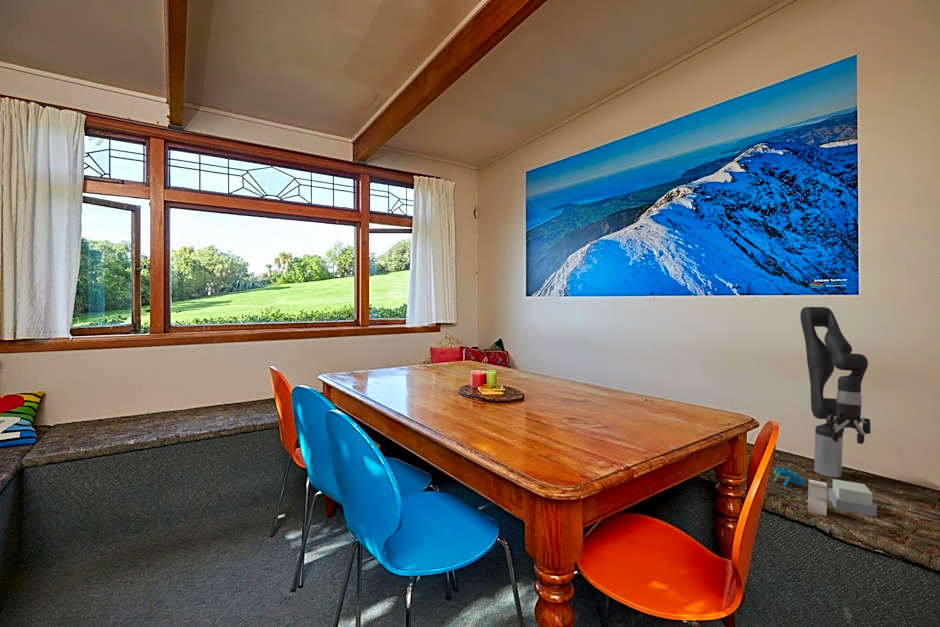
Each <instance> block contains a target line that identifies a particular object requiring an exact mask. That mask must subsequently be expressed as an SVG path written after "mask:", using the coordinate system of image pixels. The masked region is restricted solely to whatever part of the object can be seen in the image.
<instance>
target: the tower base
mask: <svg viewBox="0 0 940 627" xmlns="http://www.w3.org/2000/svg"><path fill="white" fill-rule="evenodd" d="M828 497H829V498H828ZM827 498H828V500H830V502H831V504H832V505H833V508H835V510H839V511H843V512H847V513H848V512H849V513H854V514H860V515H865V516H869V515H870V516H869V517H874V516H875V518H877V517H878V516H877V515H878V506H877V505H876V503H874V501H872V505H870V504H864V503H859V502H853V501H847V500H842V499H839V498H838V497H837V495H836V494H835V492H834V491H833V487H827Z"/></svg>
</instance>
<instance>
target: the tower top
mask: <svg viewBox="0 0 940 627" xmlns="http://www.w3.org/2000/svg"><path fill="white" fill-rule="evenodd" d="M832 489H833V491H834V492H835V494H836V495H837V497H838V498H839V499H842V500H847V501H853V502H859V503H864V504H870V505H872V502H873V494H874V493H873V492H872V491H871V490H870V489H869V487H867V486H866V484H864V483H860V482H853V481H846V480H839V479H834V478H833V479H832Z"/></svg>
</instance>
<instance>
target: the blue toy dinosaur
mask: <svg viewBox="0 0 940 627" xmlns="http://www.w3.org/2000/svg"><path fill="white" fill-rule="evenodd" d="M773 474H774V476H775V478H774V479H773V482H774V481H776V482H777V480H778V479H780V480H784V481H785V482H784V483H783V485H784V486H783V487H785V486H786V487H787V486H788V484H789V483H793V484H794V485H796V484H797V485H800V486H803V485H805V483H806V482H805V481H804V478H803V477H802V476H800V477H799V475H800V474H798V473H797V472H793V470H791V469H788V470H787V469H786V468H785V467H784V466H783V467H780V466H778V467H777V468H775V470H774V472H773Z"/></svg>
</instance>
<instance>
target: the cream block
mask: <svg viewBox="0 0 940 627" xmlns="http://www.w3.org/2000/svg"><path fill="white" fill-rule="evenodd" d="M807 492H808V494H807V497H808V498H807V512H809V513H813V514H817V515H821V516H824V517H827V507H828V483H827V482H824V481H819V480H818V481H817V480H813V479H808V490H807Z"/></svg>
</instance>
